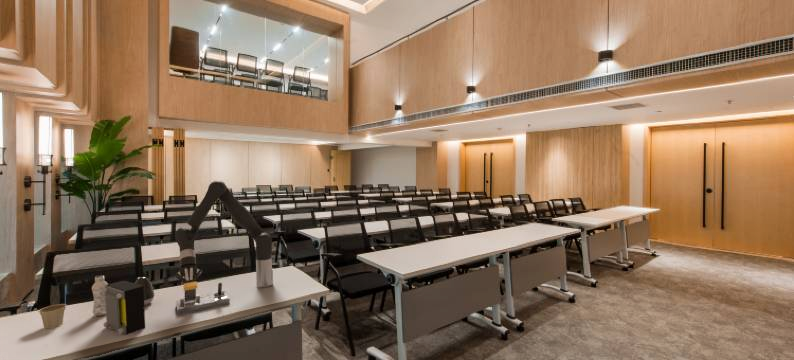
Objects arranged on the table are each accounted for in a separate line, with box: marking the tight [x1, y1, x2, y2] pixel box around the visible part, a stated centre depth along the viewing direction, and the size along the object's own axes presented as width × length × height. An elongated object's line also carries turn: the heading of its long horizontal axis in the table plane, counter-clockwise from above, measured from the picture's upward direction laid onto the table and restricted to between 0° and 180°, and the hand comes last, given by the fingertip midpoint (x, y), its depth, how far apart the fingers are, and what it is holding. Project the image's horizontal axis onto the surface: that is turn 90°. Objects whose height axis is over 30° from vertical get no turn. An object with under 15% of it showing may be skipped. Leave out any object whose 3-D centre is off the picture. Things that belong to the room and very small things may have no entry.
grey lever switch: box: [175, 282, 231, 316], centre depth 184 cm, size 24×14×12 cm, turn 125°
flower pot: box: [38, 303, 67, 329], centre depth 161 cm, size 9×9×9 cm
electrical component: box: [102, 280, 146, 336], centre depth 158 cm, size 18×10×20 cm, turn 62°
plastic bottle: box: [91, 275, 109, 317], centre depth 172 cm, size 6×7×20 cm
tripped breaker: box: [182, 280, 198, 302], centre depth 178 cm, size 6×3×13 cm
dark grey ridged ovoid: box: [134, 276, 155, 306], centre depth 185 cm, size 10×10×15 cm
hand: (189, 287), depth 177 cm, fingers closed
